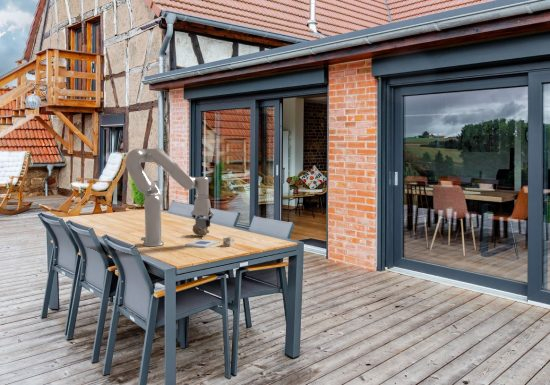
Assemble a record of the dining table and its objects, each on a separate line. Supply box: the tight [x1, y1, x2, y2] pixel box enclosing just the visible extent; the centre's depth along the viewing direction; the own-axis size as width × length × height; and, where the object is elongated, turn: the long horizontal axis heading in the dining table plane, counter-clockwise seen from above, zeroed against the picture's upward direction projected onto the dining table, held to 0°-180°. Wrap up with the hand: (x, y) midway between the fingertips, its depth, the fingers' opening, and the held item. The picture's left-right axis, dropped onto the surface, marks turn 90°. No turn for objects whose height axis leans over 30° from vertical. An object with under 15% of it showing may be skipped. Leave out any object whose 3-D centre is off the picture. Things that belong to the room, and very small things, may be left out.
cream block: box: [222, 236, 235, 247], centre depth 298 cm, size 5×5×5 cm
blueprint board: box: [184, 239, 220, 249], centre depth 300 cm, size 14×18×1 cm
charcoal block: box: [194, 217, 211, 228], centre depth 299 cm, size 6×6×5 cm
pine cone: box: [191, 223, 210, 238], centre depth 326 cm, size 22×10×10 cm, turn 37°
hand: (202, 225), depth 299 cm, fingers closed on charcoal block, 6 cm apart
